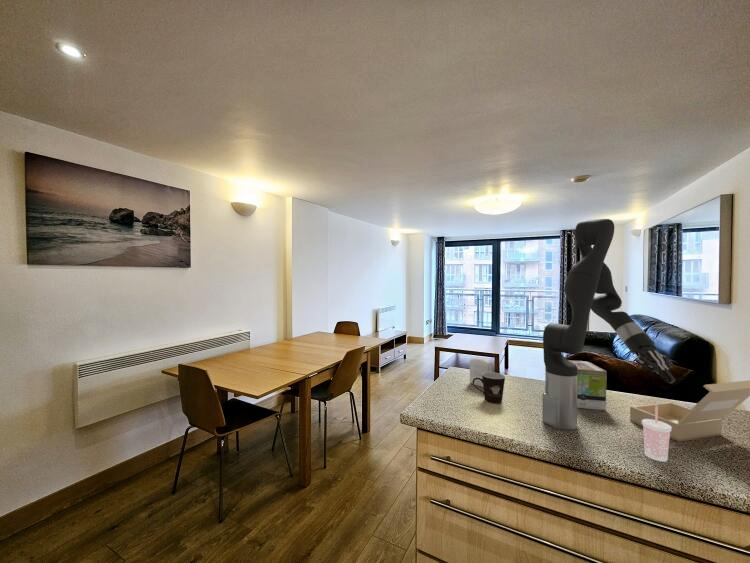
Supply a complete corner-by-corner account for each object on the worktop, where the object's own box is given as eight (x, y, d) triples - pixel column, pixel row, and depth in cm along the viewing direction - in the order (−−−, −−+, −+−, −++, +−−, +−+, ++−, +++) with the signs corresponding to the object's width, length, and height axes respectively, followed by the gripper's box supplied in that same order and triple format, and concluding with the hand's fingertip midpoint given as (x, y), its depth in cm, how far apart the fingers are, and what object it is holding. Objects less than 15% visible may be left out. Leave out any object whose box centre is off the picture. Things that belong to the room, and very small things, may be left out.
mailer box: (677, 441, 94) (678, 425, 94) (630, 421, 108) (630, 406, 107) (721, 435, 98) (721, 419, 98) (670, 416, 112) (670, 401, 112)
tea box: (607, 410, 116) (607, 370, 116) (577, 408, 118) (577, 369, 118) (588, 396, 131) (588, 360, 131) (561, 394, 133) (562, 359, 133)
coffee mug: (506, 399, 127) (507, 374, 126) (502, 406, 119) (502, 380, 119) (477, 393, 133) (477, 369, 133) (471, 400, 125) (471, 375, 125)
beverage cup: (647, 460, 84) (647, 408, 84) (637, 448, 90) (638, 399, 90) (676, 465, 82) (676, 411, 82) (664, 453, 88) (665, 403, 88)
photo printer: (493, 387, 140) (493, 359, 140) (487, 389, 138) (487, 361, 137) (474, 381, 148) (474, 355, 148) (468, 383, 146) (468, 356, 146)
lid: (671, 416, 95) (679, 424, 93) (704, 384, 88) (714, 392, 86) (715, 411, 100) (724, 418, 98) (750, 380, 92) (760, 387, 90)
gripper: (627, 332, 111) (665, 377, 99) (656, 331, 114) (697, 375, 102) (612, 344, 116) (647, 388, 104) (641, 342, 119) (678, 386, 107)
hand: (672, 382), depth 103 cm, fingers closed
